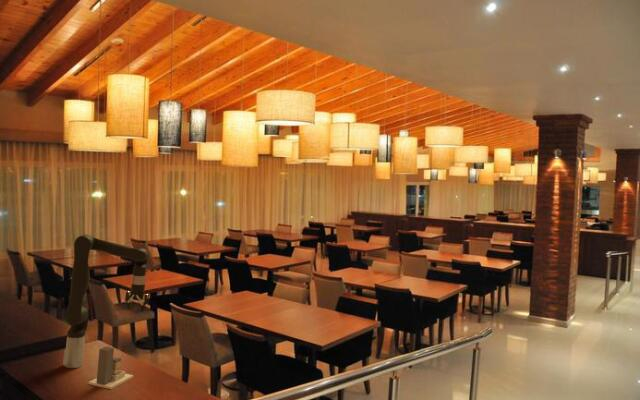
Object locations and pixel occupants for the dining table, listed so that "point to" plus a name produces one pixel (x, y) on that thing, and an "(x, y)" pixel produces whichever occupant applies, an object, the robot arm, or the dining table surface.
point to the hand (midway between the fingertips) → (135, 310)
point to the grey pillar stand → (108, 371)
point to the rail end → (116, 366)
